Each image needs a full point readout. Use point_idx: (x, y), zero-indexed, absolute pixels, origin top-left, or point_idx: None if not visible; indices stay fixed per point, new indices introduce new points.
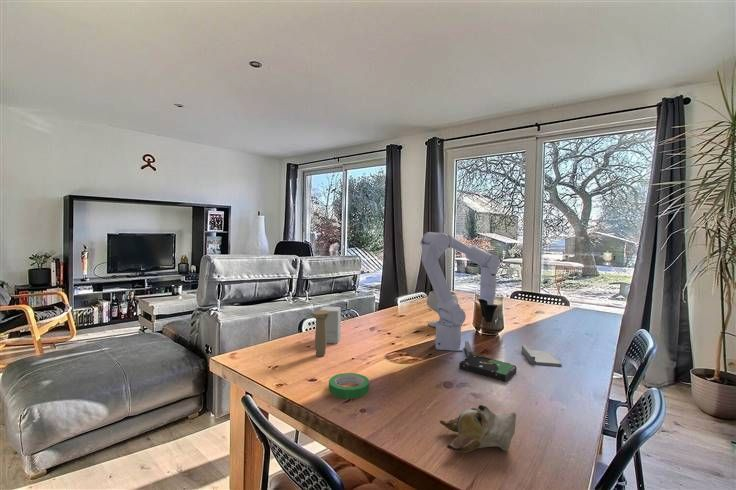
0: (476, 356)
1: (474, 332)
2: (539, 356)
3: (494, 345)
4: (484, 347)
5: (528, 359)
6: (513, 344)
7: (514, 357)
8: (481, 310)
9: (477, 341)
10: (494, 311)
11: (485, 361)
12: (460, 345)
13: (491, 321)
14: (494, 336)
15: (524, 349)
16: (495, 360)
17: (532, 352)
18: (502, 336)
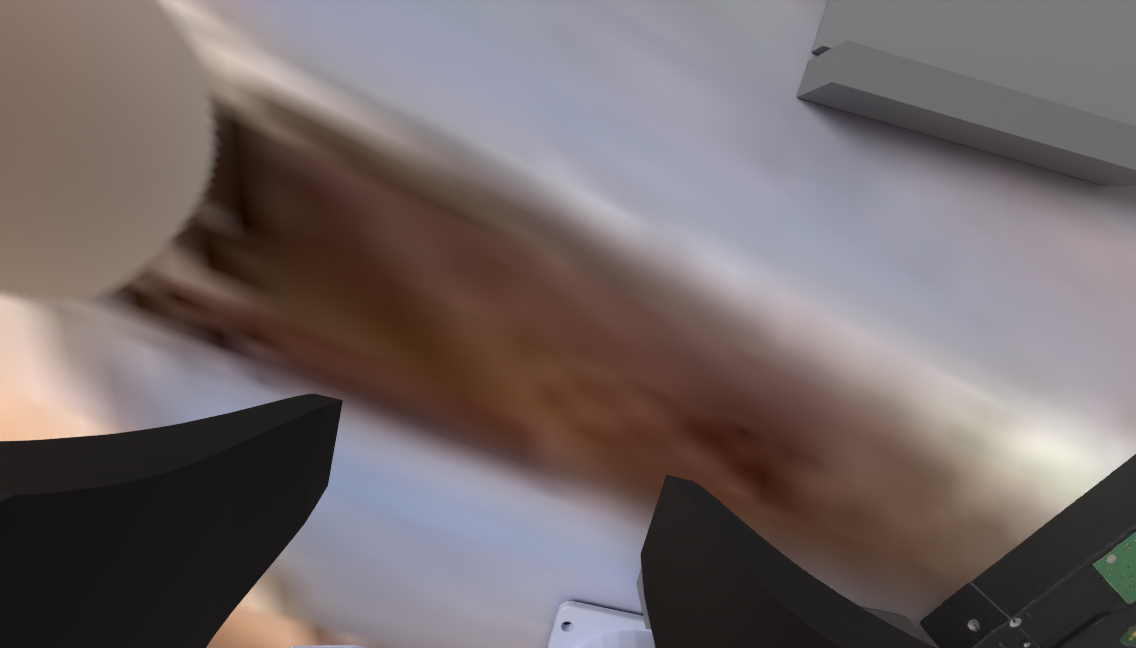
0: (1001, 644)
1: (150, 329)
2: (1033, 9)
3: (593, 296)
4: (644, 417)
5: (1038, 163)
6: (570, 65)
7: (929, 257)
8: (250, 587)
9: (468, 414)
10: (864, 611)
11: (1124, 622)
12: (625, 624)
13: (700, 487)
14: (283, 156)
15: (930, 115)
16: (1124, 538)
17: (912, 17)
18: (274, 51)
